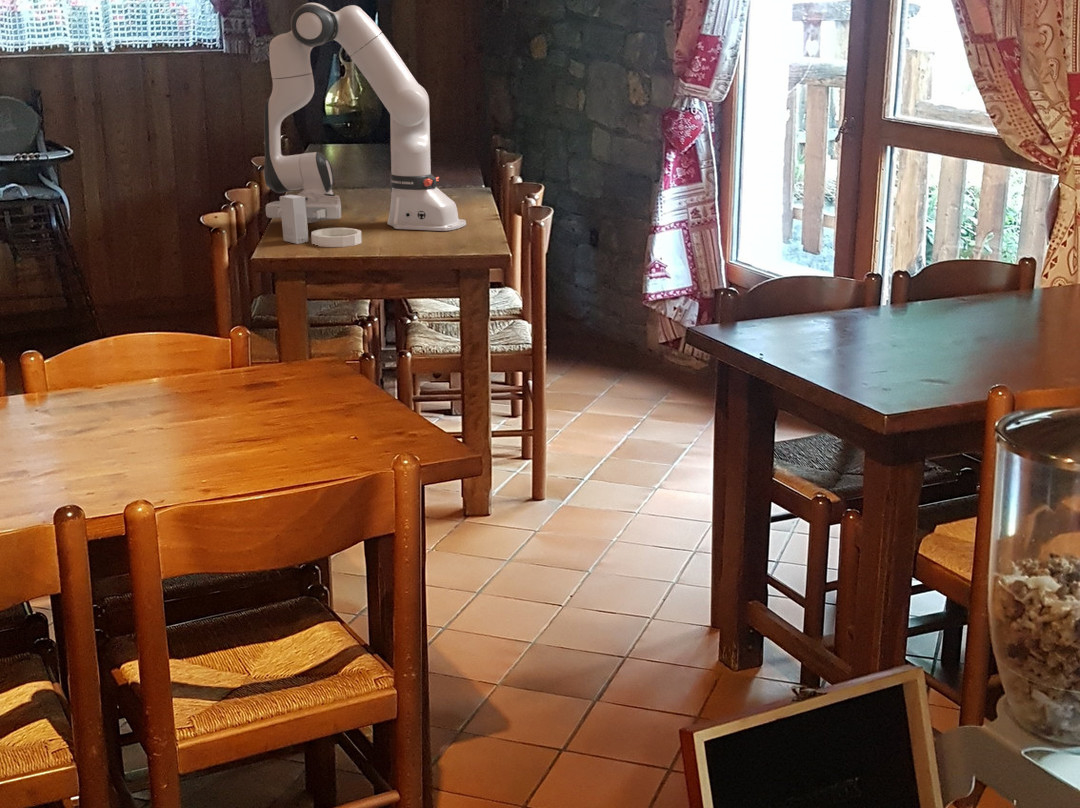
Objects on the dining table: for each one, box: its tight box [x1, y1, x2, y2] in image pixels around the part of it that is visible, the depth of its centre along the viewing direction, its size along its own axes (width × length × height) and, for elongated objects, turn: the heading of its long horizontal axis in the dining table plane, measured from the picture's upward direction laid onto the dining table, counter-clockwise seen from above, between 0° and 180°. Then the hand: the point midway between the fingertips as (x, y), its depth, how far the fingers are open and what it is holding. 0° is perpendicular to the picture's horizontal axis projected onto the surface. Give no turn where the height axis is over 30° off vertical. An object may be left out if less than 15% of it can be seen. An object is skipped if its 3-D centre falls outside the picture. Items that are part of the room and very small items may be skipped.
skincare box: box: [279, 194, 309, 245], centre depth 325 cm, size 6×4×12 cm
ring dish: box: [310, 227, 363, 248], centre depth 327 cm, size 13×13×3 cm
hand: (298, 215), depth 328 cm, fingers open, 8 cm apart
